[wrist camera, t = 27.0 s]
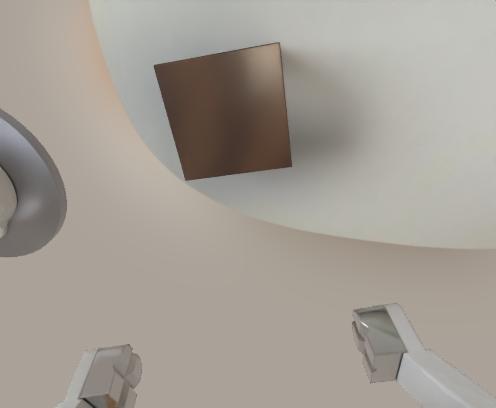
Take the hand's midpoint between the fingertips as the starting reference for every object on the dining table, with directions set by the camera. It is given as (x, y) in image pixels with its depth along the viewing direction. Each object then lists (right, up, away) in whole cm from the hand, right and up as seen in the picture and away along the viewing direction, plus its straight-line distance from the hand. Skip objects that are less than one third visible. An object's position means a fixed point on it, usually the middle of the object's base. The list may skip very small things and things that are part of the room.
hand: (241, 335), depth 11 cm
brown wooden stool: (-1, +17, +26) cm, 31 cm away
